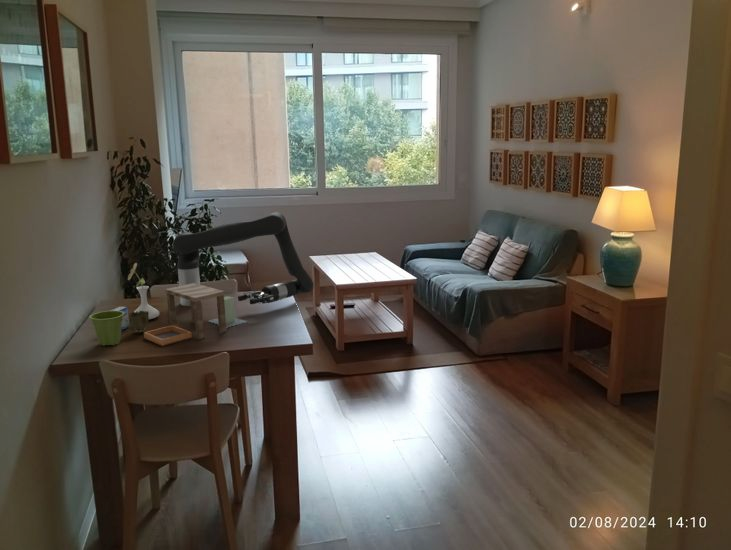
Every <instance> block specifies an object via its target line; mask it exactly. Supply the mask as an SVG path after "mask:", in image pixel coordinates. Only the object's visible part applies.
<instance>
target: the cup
mask: <svg viewBox="0 0 731 550" xmlns="http://www.w3.org/2000/svg"><path fill="white" fill-rule="evenodd" d="M148 314H149V312H148V311H147V312H146V311H145V312H144V311H140V312H139V313H138V312H136V313H135V312H134V311H131V312H129V314H128V318H129V324H130V326H131V327H132V329H133V330H135V333H136V332H137V334H143V333H144V332H146V328H147V327H148V325H149V320H148ZM142 332H143V333H142Z"/></svg>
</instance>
